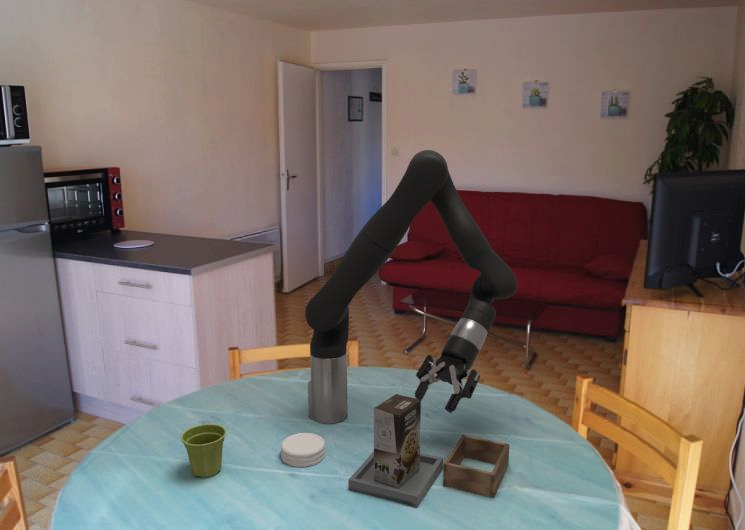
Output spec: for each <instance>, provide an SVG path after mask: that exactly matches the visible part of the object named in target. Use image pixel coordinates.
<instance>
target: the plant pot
mask: <svg viewBox="0 0 745 530" xmlns="http://www.w3.org/2000/svg"><path fill="white" fill-rule="evenodd" d="M226 436H227V429H226V428H225V427H224V426H222V425H219V424H216V423H215V424H213V423H210V424H209V423H207V424H206V423H205V424H199V425H196V426H192V427H190V428H188V429H186V430H185V431H183V432H182V434H181V436H180V440H181V442H182V443H183V445H184V448H185V449H186V454H187V455H188V456H187V457H188V461H189V465H190V470H191V474H192V475H193V476H194V477H200V478H202V479H203V478H210V477H213V476H215V475H217V474H218V473H219V472H220V471H221V470H222V461H223V460H222V459H223V447H224V441H225V437H226Z"/></svg>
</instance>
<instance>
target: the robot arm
mask: <svg viewBox="0 0 745 530" xmlns="http://www.w3.org/2000/svg"><path fill="white" fill-rule="evenodd" d="M429 202H431V203H432V205H433V206H434V208H435V209H436V212H437V213H438V215H439V216H440V218H441V220H442V222H443V225H444V227H445V229H446V232H447V233H448V235H449V237H450V239H451V241H452V243H453V245H454V246H455V248H456V250H457V252H458V254H459V255H460V256H461V259H462V260H463V261H464V263H465V264H466V266H467V267H468V268H470V269H471V270H475V271H478V272H479V273H480V274H479V275H477V276H476V278H475V280H474V282H473V284H472V286H471V290H470V294H469V297H468V298H469V299H468V305H466V307H465V309H464V312H463V313H462V315H461V317H460V319H459V321H458V322H457V323H456V324H455V326H454V328H453V330H452V332H451V333H450V335H449V337H448V338H447V341H446V343H445V344H444V346H443V347H442V350H441V355H440V356H439V357H438V359H437V358H435V357H433V356H432V355H431V354H428V355H427V356H426V357H425V358H424V361H423V362H422V364H421V365H420V367H419V368H418V371H417V372H416V374H415V377H417V378H418V380H420V381H419V384H418V385H417V387H416V390H415V392H414V397H415V398H416V399H419V400H421V402H422V400H423V398H424V397H425V395H426V393H427V391H428V390H429V386H431V385H432V384H434V383H439V382H440V381H441V382H442V383H448V384H449V385H452V386H453V387H452V388H453V393H451V395H450V397H449V399H448V401H447V403H446V404H445V408H444V410H445V411H446V412H447V413H450V414H452V413H453V412H455V411H456V410H457V407H458V405H459V404H460V401H461V400H462V399H465V398H466V399H468V400H469V399H470V400H471V398H472V397H473V394H474V392H475V390H476V387H477V385H478V382H479V381H480V378H481V375H480V373H478V371H477V370H476V369H473V368H472V367H473V365H474V362H475V361H476V360H477V357H478V355H479V354H480V351H481V349H482V347H483V345H484V343H485V341H486V339H487V335H488V333H489V331H490V329H491V327H492V325H493V324H494V322H495V319H496V316H497V310H496V308H495V307H493V305H492V304H493V302H494V300H502V299H503V300H505V299H509V298H511V297H512V296H514V294H516V291H517V289H518V280H517V277H516V275H515V273H514V272H513V270H512V269H511V267H510V266H509V265H508V264H507V263H506V261H504V260H503V259H502V258H501V256H499V255H498V254H497V252H495V250H493V249H492V246H491V245H490V243H489V241H488V239H487V238H486V236H485V235H484V233H483V231H482V230H481V228H480V227H479V225H478V224H477V222H476V220H475V219H474V217H473V216H472V214H471V213H470V212H469V209H468V208H467V207H466V205H465V203H464V202H463V200H462V198H461V196H460V194H459V192H458V191H457V189H456V187H455V185H454V182H453V180H452V176H451V174H450V171H449V166H448V163H447V161H446V159H445V158H444V156H443V155H442V154H441V153H439V152H437V151H435V150H432V149H431V150H430V149H424V150H421V151H419V152H417V153H416V154H414V155H413V156H412V158H411V159H410V161H409V163H408V165H407V168H406V170H405V172H404V174H403V176H402V178H401V180H400V181H399V182H398V184H397V185H396V188H395V190H394V191H393V193H392V194H391V195H390V197H389V198H388V199H387V201H386V202H384V204H383V205H382V206H380V207H379V209H378V210H377V211H376V212H375V213H374V214H373V215H371V217H370V218H369V219H368V220H367V222H366V223H365V224H364V226H362V228H361V229H360V231H359V232H358V234H357V235H356V236H355V238H354V240H353V241H352V242H351V244H350V246H349V247H348V249H346V251H345V252H344V255H343V256H342V258H341V260H340V262H339V263H338V265H337V267H336V269H335V270H334V271H333V273H332V274H331V276H330V277H329V279H328V280H327V281H326V282H325V283H324V284H323V286H322V287H321V288H320V289H319V290H318V292H317V293H315V294H314V295H313V296H312V297H311V298H310V299H309V300H308V302H307V304H306V306H305V311H304V312H305V313H304V315H305V316H304V318H305V322H306V323H307V325H308V326H309V327H310V328H311V329H312V330H313V332H312V333H313V334H312V337H311V340H310V343H309V357H310V358H309V360H310V380H309V381H308V382H307V399H308V400H307V401H308V408H307V409H308V417H309V418H311V419H313V421H315V422H318V423H321V424H336V423H340V422H343V421H344V420H346V419H347V418H348V416H349V415H348V411H349V409H348V408H349V407H348V361H347V360H348V355H347V354H348V352H347V351H348V350H347V349H348V348H347V346H348V342H349V331H350V330H349V326H350V322H349V321H350V317H349V316H350V313H349V312H350V310H349V305H350V304H351V302H352V300H353V299H354V298H355V296H356V295H357V293H359V291H360V290H361V289H362V288H363V287H365V285H366V284H367V283H368V282H369V281H370V280H371V279H372V278H373V277H374V276H375V275H376V274H377V273H378V271H379V270H380V269H381V268H382V267H383V266H384V265H385V264H386V262H387V261H388V260H389V259H390V257H391V256H392V254H393V253H394V252H395V250H396V249H397V247H398V246H399V244H400V243H401V242H402V240H403V239H404V237H405V235H406V233H407V231H408V230H409V228H410V227H411V224H412V223H413V222H414V220H415V218H416V217H417V216H418V215H419V213H420V212H421V211H422V210H423V208H424V207H426V205H427V204H428V203H429ZM470 368H472V369H470ZM465 378H467V379H466V381H465V383H464V384H463V379H465Z"/></svg>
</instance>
